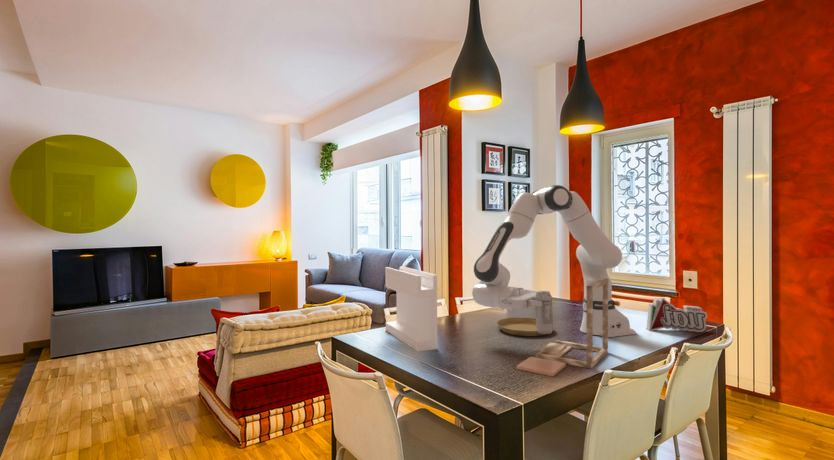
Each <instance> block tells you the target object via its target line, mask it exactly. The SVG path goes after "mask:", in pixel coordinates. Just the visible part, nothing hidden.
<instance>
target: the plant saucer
mask: <svg viewBox="0 0 834 460" xmlns="http://www.w3.org/2000/svg"><path fill="white" fill-rule="evenodd" d="M496 325H497V327H498V329H500V330H501V332H502V331H503V332H504V333H506V334H509V335H514V336H520V337H538V336H543V335H545V334H541V333H538V331H537V329H536V318H533V317H508V318H507V317H505V318H501V319H499V320H497V322H496Z"/></svg>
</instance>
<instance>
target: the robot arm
mask: <svg viewBox="0 0 834 460" xmlns="http://www.w3.org/2000/svg"><path fill="white" fill-rule="evenodd" d="M555 212H558V213H559V215H561V218H562V219H563V221H564V224H565V225H566V227H567V228H568V230H569V232H570V234H571V235H572V237H573V239H574V240H576V242H578V243H579V245H578V246H577V248H576V251H575V257H576V259H577V260H578V261H579V264H580V268H581V272H582V273H581V274H582V277H583V298H582V310H583V311H582V312H583V313H582V321H581V324H580V329H579V331H580V332H582V333H584V334H587V285H589V284H591V283H594V282H596V281H599V280H601V279H603V278H607V279H608V338H612V337H613V338H614V337H622V336H629V335H630V336H631V335H637V334H636V333H637V332H636V330H635V329H633V328H631V324H630V320H629V318H628V317H627V316H626V315H625V314H623V313H622V312H621V311H619V310H618V309H617V308H616V306H617V307H620V306H621V301H618V300H613V299H612V296H613V295H612V292H613V289H612V287H613V286H612V285H613V283H612V280H611V278H610V276H609V275H608V272H607V269H613V268H616V267H618V266H619V265H620V263H621V262H622V260H623V253H622V250H621V249H620V248H619V246H617V245H616V244H614V242H612V241H611V239H610V238H608V235H606V233H605V232H604V231H603V230H602V229H601V228H600V226H599V225H598V224H597V222H596V220H595V218H594V216H593V215H592V213H591V211H590V209H589V207H588V205H587V204H586V203H585V201H584V200H583V199H582V196H580V195H579V194H578V192H576V191H572V190H571V191H569V190H568V189H567V187H565V186H563V185H558V184H553V185H549V186H545V187H543V188H540V189H538V190H535V191H533V192H532V193H530V192H522V193H519V194H518V195H517V197H516V198H515V200H514V201H513V203H512V204H511V207H510V209H509V210H508V213H507V215H506V217H505V219H504V220H503V221H502V223H500V224H499V226H498V227H497V228H496V230H495V232H494V234H493V236H491V238H490V241H489V243H488V244H487V246H486V248H485V250H484V251H483V252H482V254H481V255H479V257H478V258H477V259H476V261H475V263H474V265H473V273H474V275H475V277H476V279H478V280H479V282H478V283H477V284H476V285H474V286H473V287H472V291H471V292H472V295H471V296H472V298H473V300H474V302H475V303H476V304H477V305H479V306H483V307H488V308H500V309H502V310H509V311H510V310H511V311H516V310H525V309H528V308H531V307H535V306H543V301H535V295H536V292H537V291H536V290H530V289H525V288H524V287H514V286H509V284H510V279H511V273H510V271H509V269H508V268H507V267H506V266H505V265H503V264H502V263H500V257H501V255H502V254H503V252H504V250H505V248H506V246H507V244H508V243H509V242H510V241H511V240H513V239H522V238H524V237H527V236H528V234H529V233H530V231H531V229H532V227H533V225H534V223H535V221H536V217H537V215H544V214H546V215H547V214H552V213H555ZM593 335H595V336H601V337H603V285H602V286H600V287H598V288H596V289H594V290H593Z"/></svg>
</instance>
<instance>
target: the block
mask: <svg viewBox="0 0 834 460" xmlns="http://www.w3.org/2000/svg"><path fill="white" fill-rule="evenodd" d="M384 268H385V271H384V275H385V279H384V281H385V286H384V287H385V288H386V289H390V290H392V291H394V292H396V293H395V294H396V298H395V299H396V318H395V320H394V321H386V322H385V331H386V332H387V333H389V334H390V335H392V336H393V337H395V338H396V339H398V340H400V341H401V342H403V343H404V344H405V345H408V346H409V347H410V348H411V349H413V350H415V351H416V352H424V351H431V350H432V351H433V350H437V349H438V274H434V273H431V272H427V271H423V270H419V269H415V268H410V267H408V266H403V265H402V266H401V265H400V267H399V268H398V269H397V268H396V269H395V268H393V267H390V266H385V267H384ZM386 327H387V328H386Z"/></svg>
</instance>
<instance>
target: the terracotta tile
mask: <svg viewBox="0 0 834 460" xmlns="http://www.w3.org/2000/svg"><path fill="white" fill-rule="evenodd" d="M566 365H567V364H566V363H562V362H557V361H551V360H546V359H541V358H536V356H535V357H534V356H530V357H528V358H527V359H525V360H523V361H521V362H520V363H518V364H517V365H515V366H516V369H517V370H520V371H525V372H530V373H535V374H539V375H544V376H547V377H548V376H549V377H554V376H556V375H557V374H558V373H559V372H560V371H562V370H563V369H564V368H566Z"/></svg>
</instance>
